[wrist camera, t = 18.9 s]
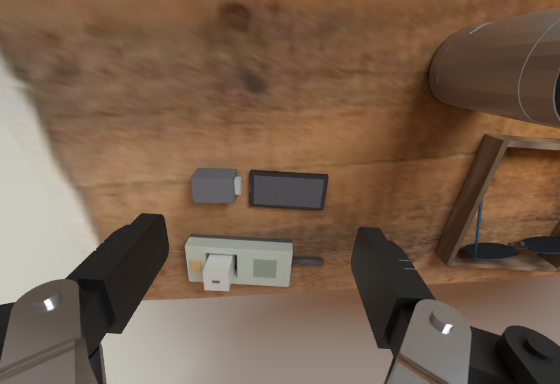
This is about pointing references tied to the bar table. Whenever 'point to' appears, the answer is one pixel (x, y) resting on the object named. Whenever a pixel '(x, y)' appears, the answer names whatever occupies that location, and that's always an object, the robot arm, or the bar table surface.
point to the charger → (218, 272)
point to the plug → (215, 185)
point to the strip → (246, 258)
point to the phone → (287, 189)
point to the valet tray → (472, 198)
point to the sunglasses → (503, 251)
